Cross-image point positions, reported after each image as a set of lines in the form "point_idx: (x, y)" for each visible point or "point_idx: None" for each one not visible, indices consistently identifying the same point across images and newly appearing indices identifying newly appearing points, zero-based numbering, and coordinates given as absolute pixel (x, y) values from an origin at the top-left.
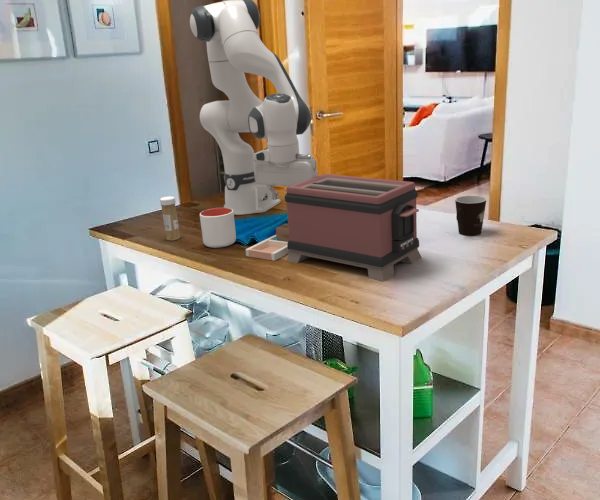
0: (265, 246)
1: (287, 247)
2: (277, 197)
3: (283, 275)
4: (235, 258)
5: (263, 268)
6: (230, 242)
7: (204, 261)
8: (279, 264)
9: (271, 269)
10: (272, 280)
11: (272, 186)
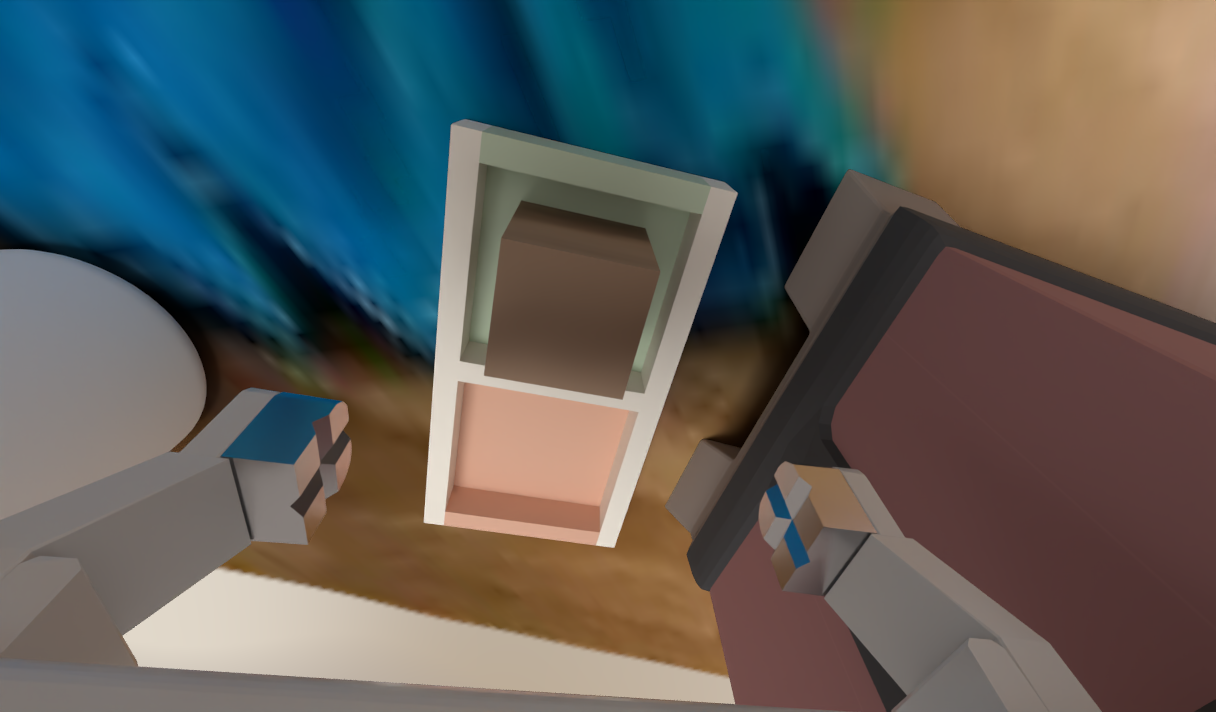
0: (462, 384)
1: (688, 559)
2: (337, 431)
3: (709, 617)
4: (401, 522)
5: (601, 584)
6: (202, 396)
7: (283, 569)
8: (652, 544)
9: (639, 586)
10: (684, 649)
11: (95, 638)
